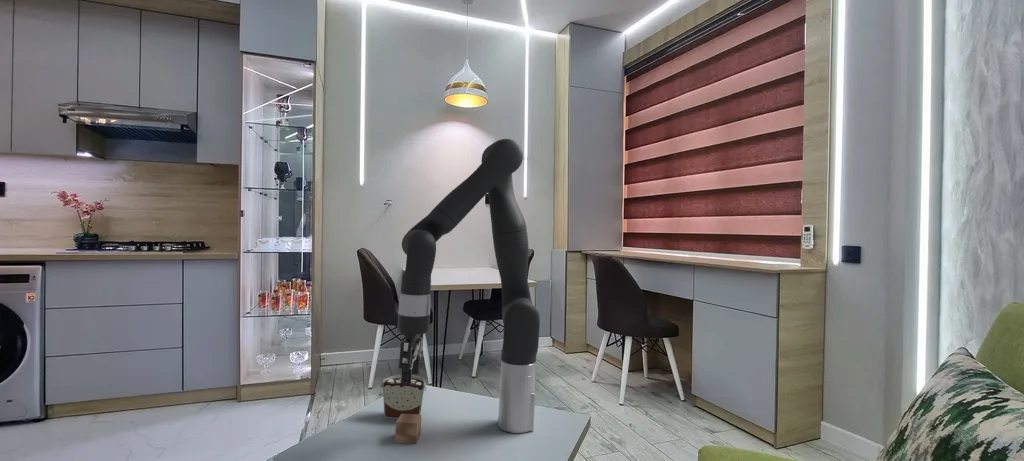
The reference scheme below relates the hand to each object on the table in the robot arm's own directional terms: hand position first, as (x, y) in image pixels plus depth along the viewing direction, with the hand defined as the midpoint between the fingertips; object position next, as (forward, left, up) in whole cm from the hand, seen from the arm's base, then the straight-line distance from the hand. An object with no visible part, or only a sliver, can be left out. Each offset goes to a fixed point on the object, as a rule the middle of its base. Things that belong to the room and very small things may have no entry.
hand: (410, 379), depth 109 cm
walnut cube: (0, 0, -14) cm, 14 cm away
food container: (+4, -14, -15) cm, 20 cm away
